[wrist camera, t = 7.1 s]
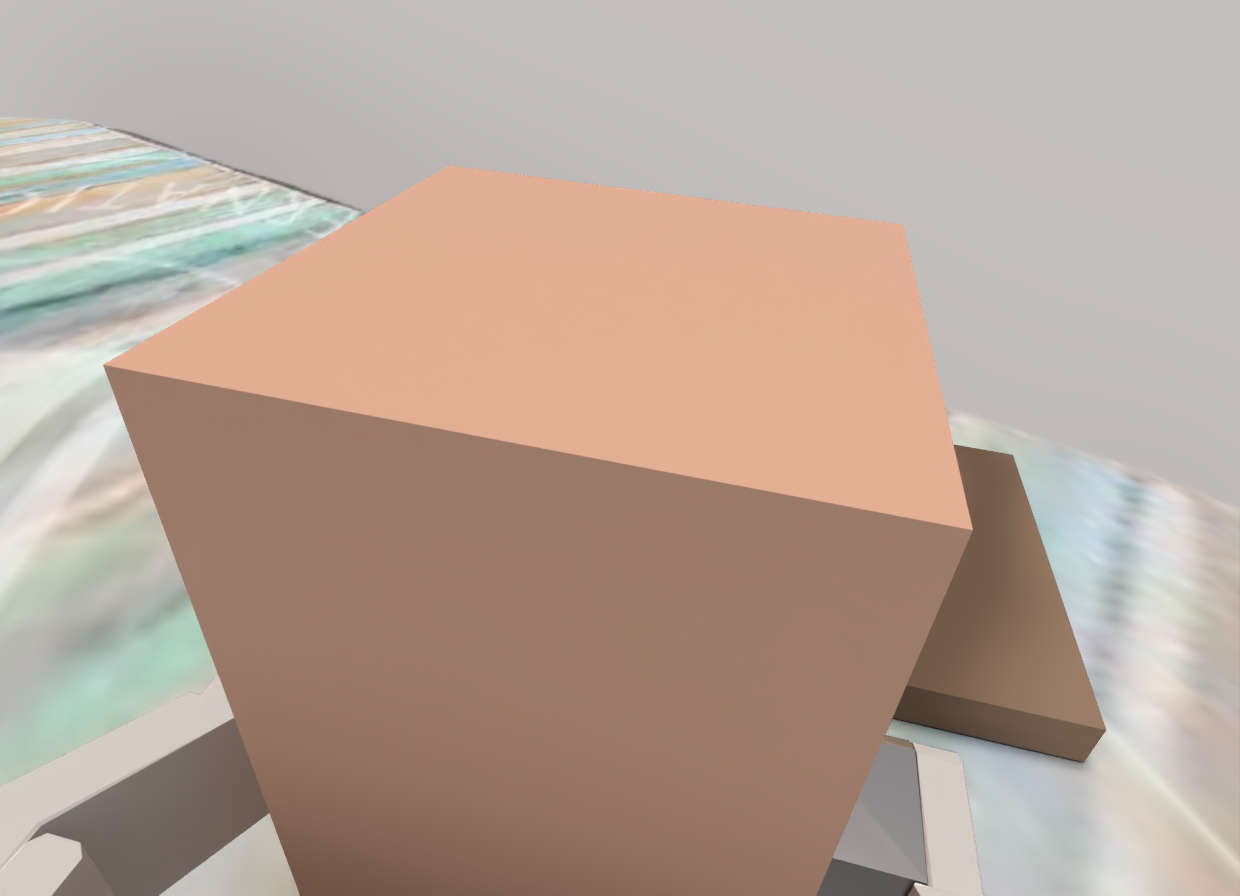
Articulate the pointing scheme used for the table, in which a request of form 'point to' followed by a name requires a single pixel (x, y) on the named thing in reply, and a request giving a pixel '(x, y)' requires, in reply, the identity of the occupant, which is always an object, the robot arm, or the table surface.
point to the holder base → (1003, 632)
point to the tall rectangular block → (559, 534)
